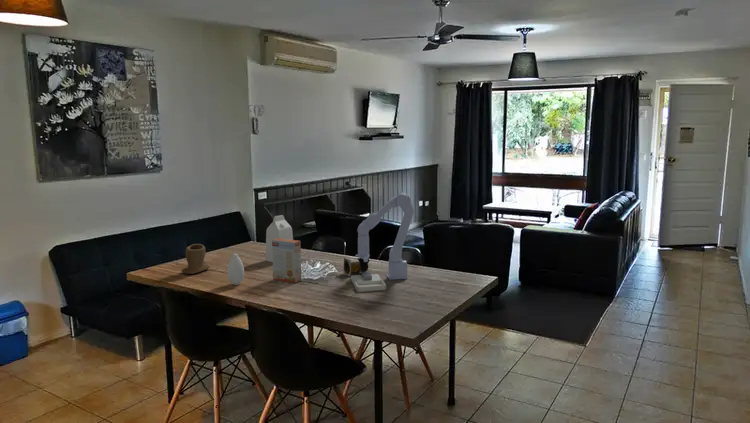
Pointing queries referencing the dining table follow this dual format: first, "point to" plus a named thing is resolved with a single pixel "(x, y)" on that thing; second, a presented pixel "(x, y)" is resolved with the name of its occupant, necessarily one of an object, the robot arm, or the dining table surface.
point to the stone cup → (195, 259)
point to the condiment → (351, 267)
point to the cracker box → (286, 260)
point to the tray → (370, 287)
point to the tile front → (367, 277)
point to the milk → (277, 234)
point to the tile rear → (364, 273)
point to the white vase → (235, 270)
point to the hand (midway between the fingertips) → (363, 272)
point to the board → (360, 281)
